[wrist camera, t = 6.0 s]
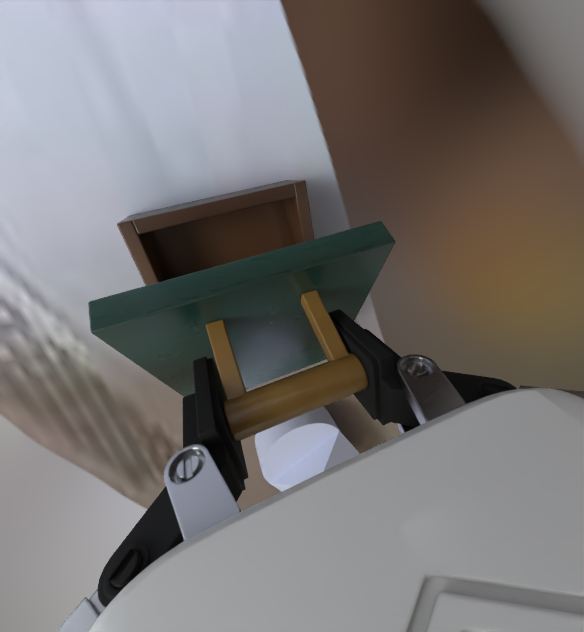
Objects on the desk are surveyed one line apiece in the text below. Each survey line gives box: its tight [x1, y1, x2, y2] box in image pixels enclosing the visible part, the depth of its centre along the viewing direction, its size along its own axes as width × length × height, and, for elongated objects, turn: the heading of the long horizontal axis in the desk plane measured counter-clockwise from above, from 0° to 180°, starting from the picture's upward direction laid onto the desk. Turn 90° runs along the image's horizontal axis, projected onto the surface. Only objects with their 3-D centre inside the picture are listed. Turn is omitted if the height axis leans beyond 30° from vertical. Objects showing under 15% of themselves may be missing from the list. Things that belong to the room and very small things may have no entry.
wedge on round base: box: [255, 406, 360, 491], centre depth 30 cm, size 9×7×13 cm
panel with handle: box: [88, 221, 395, 442], centre depth 15 cm, size 13×11×6 cm
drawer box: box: [117, 180, 314, 286], centre depth 21 cm, size 13×11×4 cm
